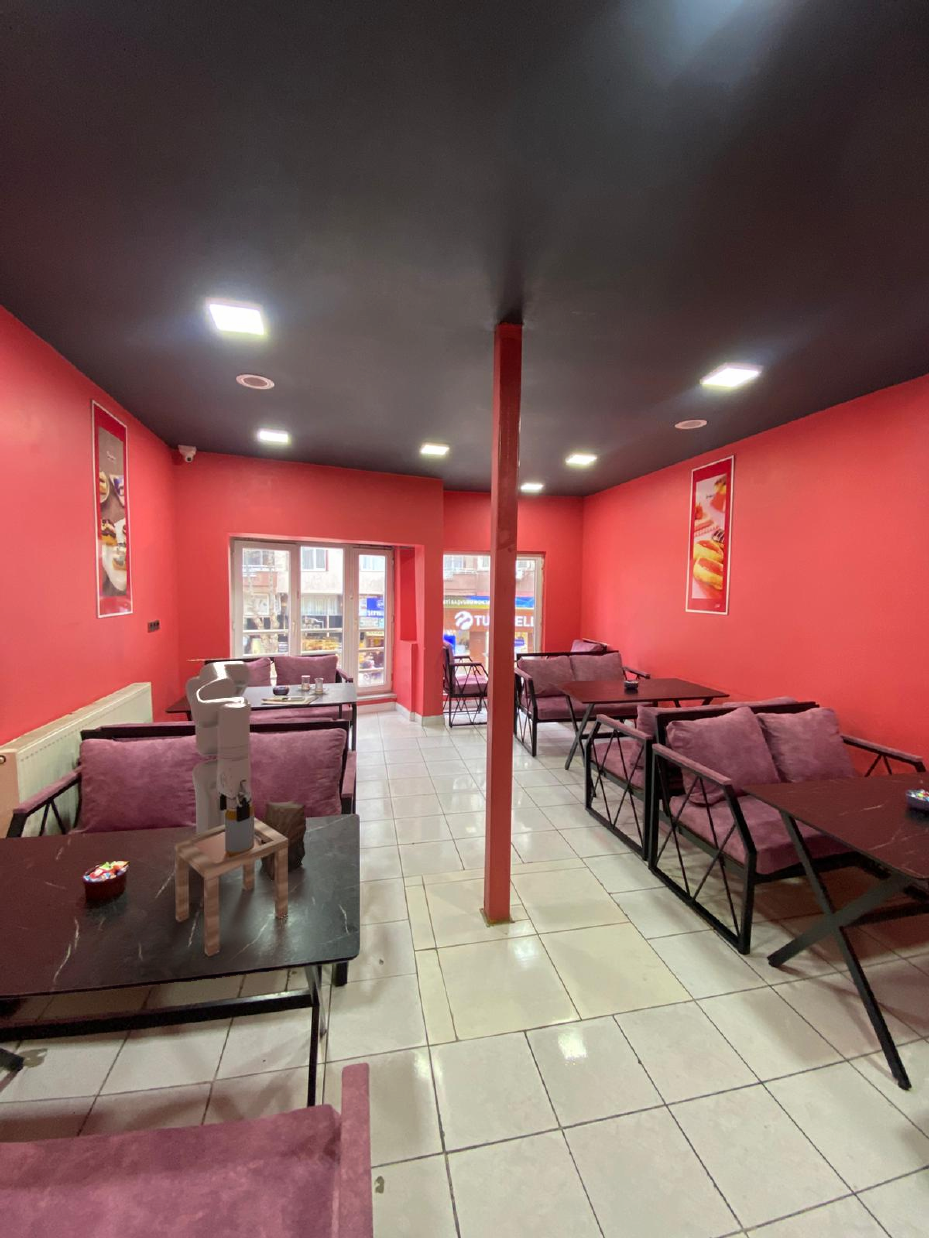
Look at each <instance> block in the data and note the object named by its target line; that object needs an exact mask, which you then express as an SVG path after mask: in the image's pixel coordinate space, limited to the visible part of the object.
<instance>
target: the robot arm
mask: <svg viewBox="0 0 929 1238" xmlns="http://www.w3.org/2000/svg"><path fill="white" fill-rule="evenodd" d="M250 681H251V671H250V668H249V666H248V664H247V663H246V662H245V661H243V660H236V661H235V660H233V661H230V660H229V661H216V662H210V663H207V664H206V665H204V666H202V667H201V669H200V670H199V673H198V676H193V677H191V678H189V679H188V680H187V681H186V683H185V694H186V698H187V701H188V704H189V706H190V712H191V716H192V721H193V724H194V726H195V727H194V728H195V746H196V751H197V753H198V755H200V756H201V757H210V756H217V758H214V759H208V760H205V761H201V762H200V763H198V764H196V765H195V766H194V767H193V769H192V773H191V777H192V783H193V787H194V795H195V796H194V797H195V829H196V831H195V833H196V834H199V833H202V832H205V831H207V830H210V829H213V828H216V827H219V826H222V825H225V813H226V810H227V797H229V798H230V799H234V798H236V801H237V804H238V806H237V807H236V815H237V822H240V821H243V820H246V819H249V818H250V803H251V796H252V797H253V791H252V789H251V772H252V768H251V755H250V754H251V753H250V752H251V747H250V745H251V744H250V739H251V736H250V733H251V729H250V717H251V715H252V705H251V702H250V701H249V700H248V699H247V698H246V697H243V695H244V694H245V692H246V690H247V688H248V685H249V684H250ZM240 792H243V793H241V794H238V793H240ZM243 796H245V797H244V798H243V799H242V801H241V799H240V797H243ZM196 834H195V835H196Z"/></svg>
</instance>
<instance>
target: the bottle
mask: <svg viewBox="0 0 929 1238" xmlns="http://www.w3.org/2000/svg"><path fill="white" fill-rule="evenodd" d="M241 793H243V792H240V793H238V794H241ZM244 797H245V796H243V797H240V799H241V801H242V799H243V798H244ZM237 806H238V804H237V801H236V798H234V799H230V798H229V797H227V810H226V813H225V851H226V853H228V854H229V855H232V856H236V855H239V854H241V853H244V852H246V851H249V850H252V848H253V847H254V835H255V834H254V817H255V808H254V805H253V795H252V796H251V803H250V818H249V819H246V820H243V821H240V822H237V815H236V807H237Z"/></svg>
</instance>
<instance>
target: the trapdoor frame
mask: <svg viewBox="0 0 929 1238" xmlns="http://www.w3.org/2000/svg"><path fill="white" fill-rule="evenodd" d="M223 832H225V825H222V826H219V827H216V828H213V829H210V830H207V831H205V832H202V833H199V834H193V835H191V836H188V837H184V838H182V839H179V840H175V841H173V850H174V870H175V871H174V872H175V873H174V879H175V880H174V881H175V882H174V883H175V884H174V887H175V894H174V895H175V920H176V921H177V922H178V923H181V922H183V921H185V920H188V919H189V918H190V892H189V891H190V890H189V889H190V887H189V886H190V884H189V882H190V881H189V879H190V878H189V876H190V875H189V866H190V867H192V868H193V870H195V871H196V872H197V873H198V874H199V875H200V876H201V877H202V878H203V893H204V894H203V901H204V903H203V906H204V907H203V908H204V909H203V911H204V913H203V914H204V922H203V923H204V953H205V955H206V954H207V955H208V956H211V955H212V956H214V955H216V954H217V953H216V952H217V951H219V952H220V902H219V901H220V889H219V888H220V887H219V886H220V885H219V884H220V881H219V879H220V878H219V876H221V875H220V874H222V875H224V874H226V873H225V872H227V871H229V872H231V871H233V870H232V869H234V870H235V868H236V869H238V868H240V867H239V866H241V867H242V889H244V890H245V891H246V892H249V891H250V890H252V889H254V887H255V885H256V884H255V883H256V882H255V880H256V873H255V872H256V871H255V868H256V867H255V861H257V860H256V859H258V858H260V859H261V857H263V856H266V855H268V854H270V853H273V852H275V880H274V916H275V915H276V916H277V917H278V918H277V917H276V916H275V917H276V918H277V919H278V920H281V919H282V918H281V917H283V918H285V917H284V915H287V914H288V915H289V899H288V898H289V886H288V885H289V880H288V879H289V878H288V876H289V873H288V847H287V846H288V838H286V837H285V836H283V835H282V834H280V833H278V832H277V831H275V830H274V829H272V828H270V827H269V826H267V825H266V824H264V823H263V822H262V820H260V819H258V818H256V817H255V816H254V835H255V836H256V837H257V838H259V839H260V840H261V839H262V840H263V841H265V842H266V843H267V844H264V845H262V846H259V847H257V848H254V849H252V850H249V851H246V852H244V853H241V854H239V855H236V856H234V857H231V858H229V859H226V860H224V861H221V862H219V863H215V862H213V861H212V860H211V859H210V858H209V857H207V856H206V855H205V854H204V853H203V852H202V851H200V850H199V849H198V848H197V847H196V846H195V845H193V843H195V842H198V841H201V840H203V839H206V838H209V837H212V836H215V835H218V834H220V833H223ZM254 860H255V861H254ZM258 860H259V859H258ZM251 861H253V862H251ZM249 862H250V863H249ZM247 863H248V864H247ZM244 864H246V865H244ZM242 865H243V866H242ZM237 867H238V868H237ZM230 870H231V871H230ZM223 873H224V874H223ZM227 873H228V872H227ZM218 875H219V876H218ZM288 915H287V916H288ZM280 918H281V919H280ZM215 953H216V954H215ZM213 954H214V955H213ZM207 955H206V956H207ZM208 956H207V957H208ZM212 956H211V957H212Z"/></svg>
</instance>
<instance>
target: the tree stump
mask: <svg viewBox="0 0 929 1238" xmlns="http://www.w3.org/2000/svg"><path fill="white" fill-rule="evenodd" d="M265 807H266V810H265V812H264V815H263V816H262V819H261V822H263V823H264V824H266V825H267V826H269V827H270V828H272V829H274V830H275V831H277V832H278V833H280V834H282V835H283V836H285V837H286V838H288V846H287V847H288V874H289V873H291V872H293V871H294V870H296V869H299V868H300V866H303V864H302V863H303V862H302V861H303V860H304V857H305V856H306V850H305V849H306V848H305V839H304V838H305V833H306V832H307V820H306V819H307V818H306V814H305V810H306V804H300V803H298V802H297V801H295V800H289V801H282V802H275V801H268V802H266V803H265ZM260 842H261V843H262V844H263V845H264V844H267V843H266V842H265V841H263V840H262V839H260ZM260 861H261V868H262V869H263V871H264V872H265V874H266V873H267V874H266V877H267V876H268V877H269V878H268V877H267V878H268V879H269V880H270V879H271V880H272V881H275V880H274V879H275V852H273V853H270V854H269V855H267V856H265V857H262V858H260ZM301 862H302V863H301ZM293 869H294V870H293ZM292 870H293V871H292ZM271 880H270V881H271ZM272 881H271V882H272Z"/></svg>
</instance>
